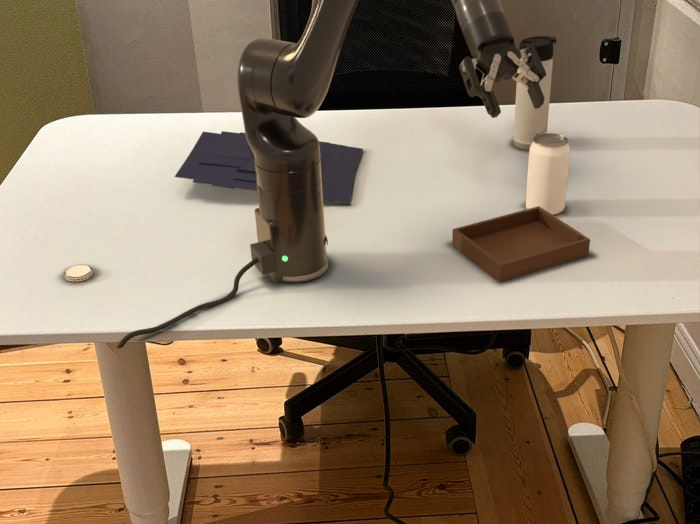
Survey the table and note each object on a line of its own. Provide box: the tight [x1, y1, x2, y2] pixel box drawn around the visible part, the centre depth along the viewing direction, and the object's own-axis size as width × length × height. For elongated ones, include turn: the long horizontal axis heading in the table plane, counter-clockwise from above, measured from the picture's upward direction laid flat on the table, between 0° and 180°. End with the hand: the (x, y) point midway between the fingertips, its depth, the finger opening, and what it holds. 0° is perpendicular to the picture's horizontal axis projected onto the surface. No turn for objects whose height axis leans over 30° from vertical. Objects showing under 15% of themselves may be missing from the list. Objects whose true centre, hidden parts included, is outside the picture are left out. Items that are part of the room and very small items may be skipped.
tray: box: [451, 206, 591, 283], centre depth 142 cm, size 16×13×3 cm
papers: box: [174, 130, 364, 204], centre depth 166 cm, size 24×30×4 cm
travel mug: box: [512, 35, 557, 151], centre depth 172 cm, size 6×7×20 cm
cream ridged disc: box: [63, 264, 94, 282], centre depth 138 cm, size 4×4×1 cm
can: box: [525, 132, 571, 216], centre depth 152 cm, size 6×6×12 cm
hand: (518, 110), depth 154 cm, fingers open, 8 cm apart
